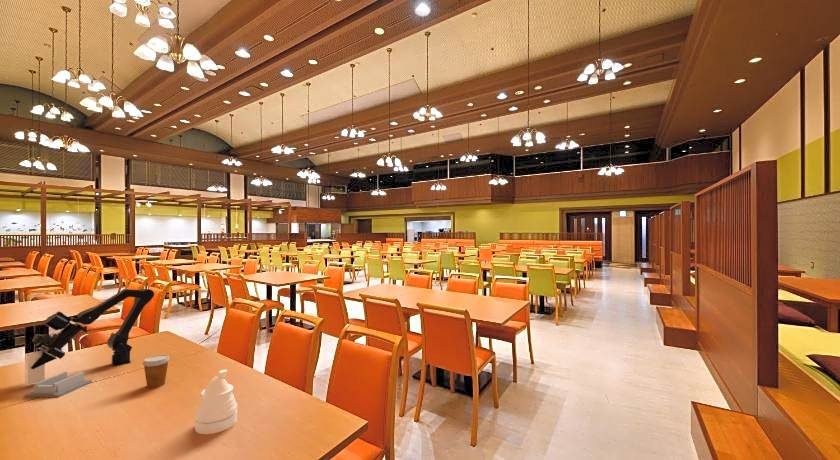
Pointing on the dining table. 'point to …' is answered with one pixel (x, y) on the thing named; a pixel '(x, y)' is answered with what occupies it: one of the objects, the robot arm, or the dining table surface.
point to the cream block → (36, 373)
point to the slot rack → (58, 385)
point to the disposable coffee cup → (156, 370)
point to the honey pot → (216, 407)
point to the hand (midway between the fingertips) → (30, 367)
